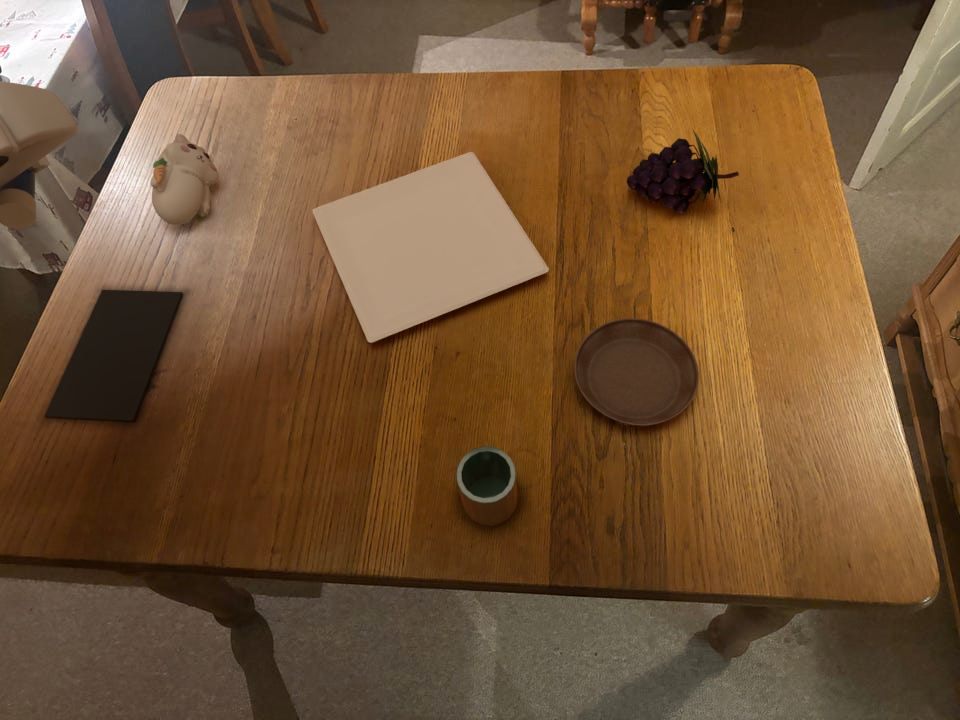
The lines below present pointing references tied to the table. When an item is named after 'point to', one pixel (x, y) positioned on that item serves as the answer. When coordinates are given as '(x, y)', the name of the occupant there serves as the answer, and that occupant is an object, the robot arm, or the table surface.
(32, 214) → the marker
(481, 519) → the pen pot
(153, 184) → the cat figurine
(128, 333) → the mat
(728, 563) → the table surface
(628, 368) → the saucer
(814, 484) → the table surface
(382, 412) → the table surface
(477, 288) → the beige flat square slab
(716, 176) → the fruit
